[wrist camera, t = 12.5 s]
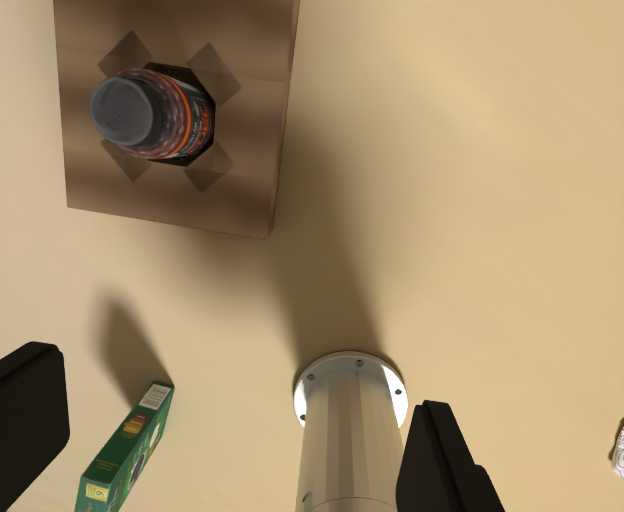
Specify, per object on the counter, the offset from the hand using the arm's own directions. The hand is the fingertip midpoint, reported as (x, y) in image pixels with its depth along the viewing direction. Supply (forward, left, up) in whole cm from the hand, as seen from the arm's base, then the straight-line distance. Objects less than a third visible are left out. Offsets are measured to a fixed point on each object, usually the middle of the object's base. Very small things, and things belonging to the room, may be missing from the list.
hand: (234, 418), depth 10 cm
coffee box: (-26, +14, -27) cm, 40 cm away
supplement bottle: (+6, +12, -27) cm, 30 cm away
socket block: (+8, +12, -27) cm, 30 cm away
